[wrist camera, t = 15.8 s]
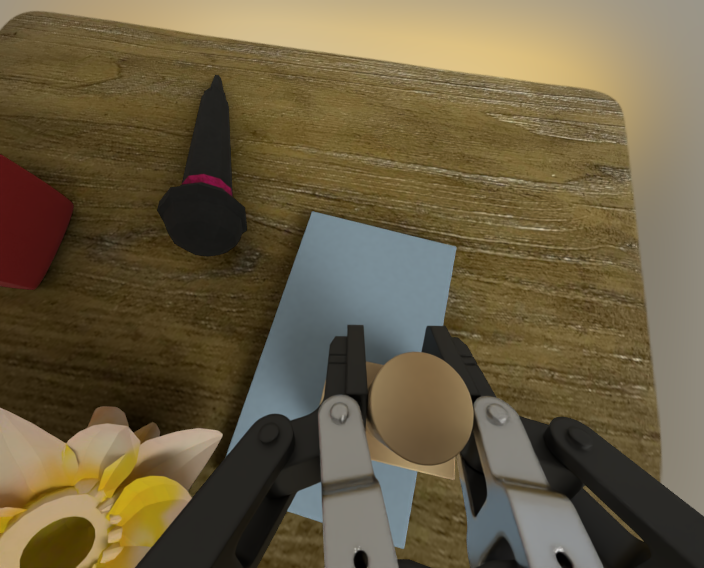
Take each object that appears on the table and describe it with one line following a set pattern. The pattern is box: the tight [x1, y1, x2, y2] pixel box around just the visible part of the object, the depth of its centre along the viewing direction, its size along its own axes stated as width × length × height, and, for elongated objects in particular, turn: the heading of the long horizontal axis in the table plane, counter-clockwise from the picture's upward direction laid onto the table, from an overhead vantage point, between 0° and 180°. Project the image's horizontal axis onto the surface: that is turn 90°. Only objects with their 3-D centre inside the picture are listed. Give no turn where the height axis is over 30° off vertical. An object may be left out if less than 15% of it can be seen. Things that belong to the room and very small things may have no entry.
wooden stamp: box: [319, 352, 474, 480], centre depth 12 cm, size 7×4×11 cm, turn 79°
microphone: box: [157, 75, 247, 257], centre depth 21 cm, size 6×6×20 cm
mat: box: [225, 211, 456, 549], centre depth 18 cm, size 12×20×1 cm, turn 165°
